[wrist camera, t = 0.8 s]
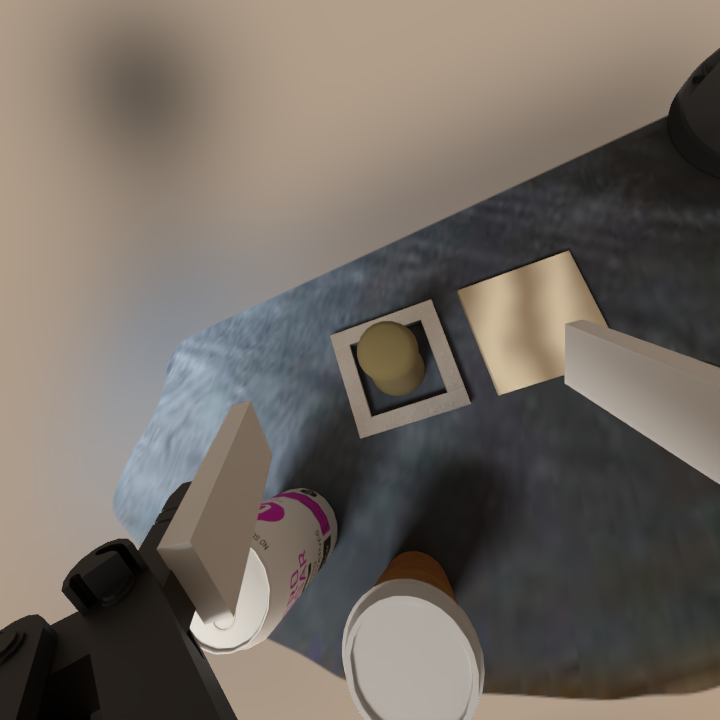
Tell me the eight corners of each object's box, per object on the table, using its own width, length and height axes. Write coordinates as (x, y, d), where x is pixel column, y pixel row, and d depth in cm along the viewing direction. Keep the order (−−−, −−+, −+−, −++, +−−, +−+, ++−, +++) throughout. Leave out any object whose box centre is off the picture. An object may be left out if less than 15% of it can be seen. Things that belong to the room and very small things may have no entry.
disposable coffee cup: (487, 611, 32) (520, 716, 20) (400, 659, 32) (385, 789, 21) (430, 515, 34) (431, 560, 23) (351, 562, 35) (312, 629, 23)
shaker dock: (431, 302, 38) (431, 299, 37) (469, 404, 36) (471, 403, 35) (332, 337, 40) (330, 335, 39) (362, 438, 37) (360, 438, 36)
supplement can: (263, 492, 38) (162, 532, 24) (334, 482, 37) (272, 518, 22) (270, 572, 36) (165, 668, 22) (344, 564, 35) (285, 662, 21)
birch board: (565, 254, 36) (568, 250, 36) (618, 357, 34) (622, 356, 33) (457, 293, 38) (457, 290, 37) (498, 395, 35) (499, 394, 34)
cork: (434, 357, 37) (437, 330, 27) (408, 406, 37) (400, 398, 26) (386, 333, 39) (370, 299, 28) (360, 380, 38) (334, 362, 28)
